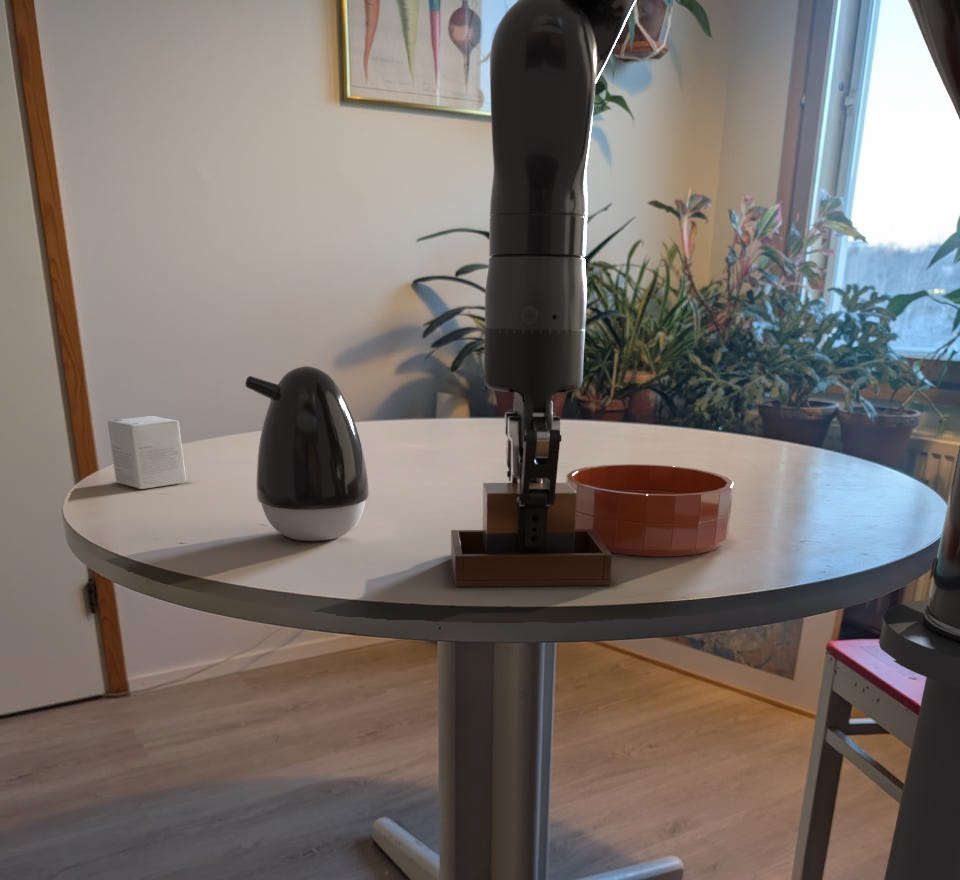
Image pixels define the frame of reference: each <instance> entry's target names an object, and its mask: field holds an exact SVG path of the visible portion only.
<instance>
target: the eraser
mask: <svg viewBox="0 0 960 880" xmlns="http://www.w3.org/2000/svg"><path fill="white" fill-rule="evenodd" d="M529 489H543V482H542V483H530V484H529ZM555 494H556V500H554V505H550V508H548V516H547V542H546V552H545V553H544V554H554V553H574V537H575V534H574V533H575V518H576V498H577V493H576V492H575V491H574V490H573V488H572V487H571V486H570V485H569V483H566V482H556V489H555ZM516 497H518V483H509V482H483V483H482V530H483V547H484V551H485V554H520V553H519V551H518V511H519V508H518V504H517V503H516Z"/></svg>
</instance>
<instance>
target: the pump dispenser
mask: <svg viewBox="0 0 960 880" xmlns="http://www.w3.org/2000/svg"><path fill="white" fill-rule="evenodd" d="M244 383H245V385H244V386H245V387H246V388H247V389H248V390H252V391H253V392H255V393H257V394H259V395H261V396H263V397H265V398H268V399H269V400H270V402H269V404H268V408H267V410H266V413H265V416H264V421H263V424H262V429H261V433H260V439H259V444H258V452H257V463H256V482H255V483H256V485H255V486H256V499H257V501H258V502H259V503H260V504H261V507H262V511H263V513H264V515H265V517H266V519H267V521H268V523H269V524H270V525H271V526H272V527H273V528H274V529H275V530H276V531H277V532H278V533H280V534H281V535H283V536H285V537H286V538H290V539H292V540H295V541H300V542H323V541H331V540H335V539H338V538H341V537H343V536H345V535H346V534H348V533H349V532H351V531H352V530H353V529H354V528H355V527H356V525H358V523H359V521H360V520H361V517H362V516H363V512H364V510H365V505H366V501H367V499H368V498H369V497H370V496H369V495H370V489H369V487H370V486H369V478H368V471H367V464H366V459H365V454H364V449H363V447H362V446H363V445H362V441H361V437H360V435H359V431H358V427H357V426H356V423H355V421H354V418H353V415H352V413H351V411H350V408H349V405H348V403H347V401H346V400H345V397H344V395H343V392H342V391H341V390H340V388H339V386H338V385H337V383H336V382H335V380H334V379H333V378H332V377H331V376H330V375H329V374H328V373H327V372H325V371H324V370H322V369H320V368H317V367H314V366H307V365H303V366H299V367H296V368H293V369H291V370H289V371H288V372H286V373H285V374H284V375H283V376H282V377H281V379H280V380H279V382H278V383H274V382H271V381H267V380H264V379H261V378H258V377H255V376H253V375H249V376H247V377H246V380H245V382H244Z"/></svg>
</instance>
